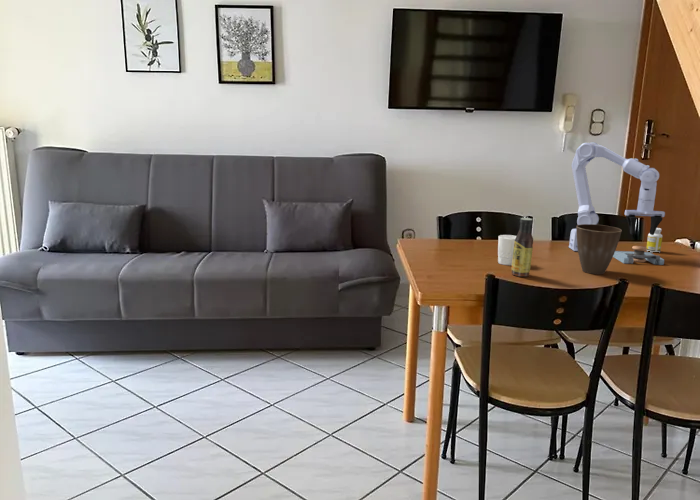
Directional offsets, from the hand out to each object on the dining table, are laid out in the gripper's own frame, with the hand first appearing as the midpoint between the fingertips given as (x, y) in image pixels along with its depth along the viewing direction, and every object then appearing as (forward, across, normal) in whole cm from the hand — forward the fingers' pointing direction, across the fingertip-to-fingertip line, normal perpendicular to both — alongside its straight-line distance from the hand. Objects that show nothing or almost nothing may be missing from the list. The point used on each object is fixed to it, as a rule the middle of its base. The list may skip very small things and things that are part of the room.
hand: (641, 234), depth 240 cm
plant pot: (+10, -26, -26) cm, 38 cm away
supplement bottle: (+10, +12, +14) cm, 21 cm away
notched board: (+10, -2, -3) cm, 11 cm away
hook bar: (+10, -2, -10) cm, 14 cm away
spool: (+10, -2, -5) cm, 11 cm away
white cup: (+10, -55, -18) cm, 59 cm away
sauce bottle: (+10, -54, -35) cm, 65 cm away
